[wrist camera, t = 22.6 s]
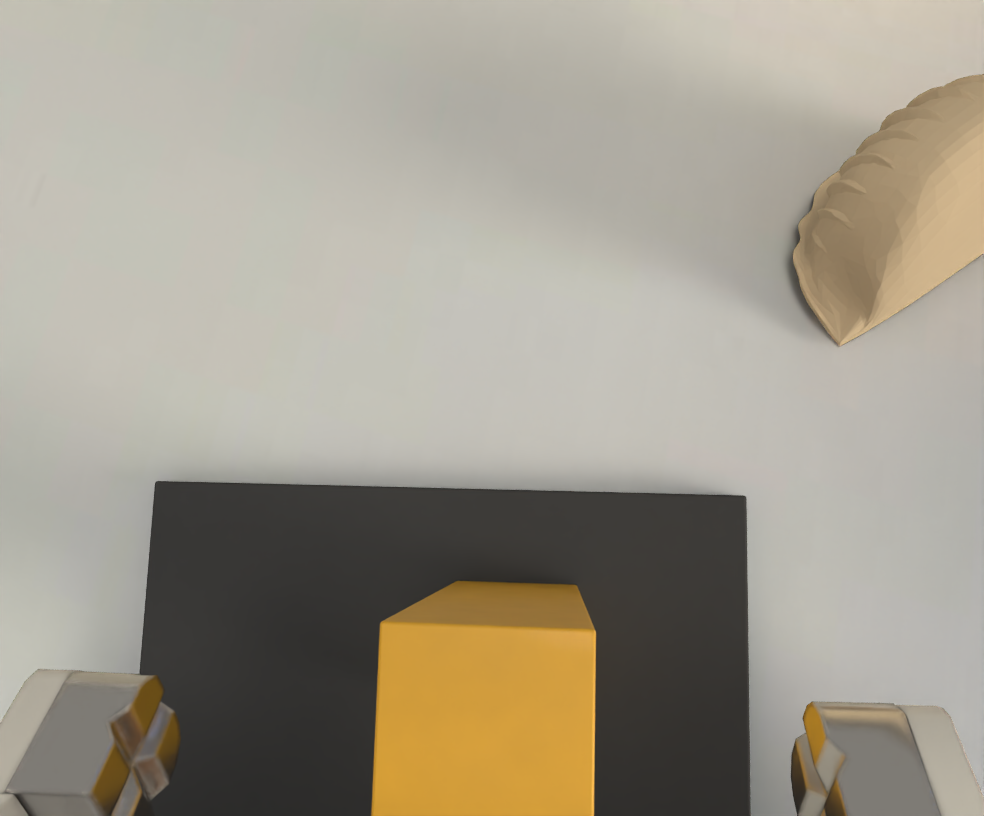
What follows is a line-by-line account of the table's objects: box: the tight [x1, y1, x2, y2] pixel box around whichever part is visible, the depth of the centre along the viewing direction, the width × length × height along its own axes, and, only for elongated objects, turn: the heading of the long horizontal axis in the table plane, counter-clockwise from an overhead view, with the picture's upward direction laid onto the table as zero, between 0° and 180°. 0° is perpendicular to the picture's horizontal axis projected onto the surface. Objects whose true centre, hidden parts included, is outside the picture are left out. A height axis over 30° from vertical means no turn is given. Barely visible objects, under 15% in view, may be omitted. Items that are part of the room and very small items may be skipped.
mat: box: [140, 481, 751, 816], centre depth 22 cm, size 16×12×1 cm
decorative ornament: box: [793, 74, 984, 346], centre depth 21 cm, size 4×8×5 cm, turn 122°
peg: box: [371, 581, 596, 816], centre depth 17 cm, size 3×3×10 cm
